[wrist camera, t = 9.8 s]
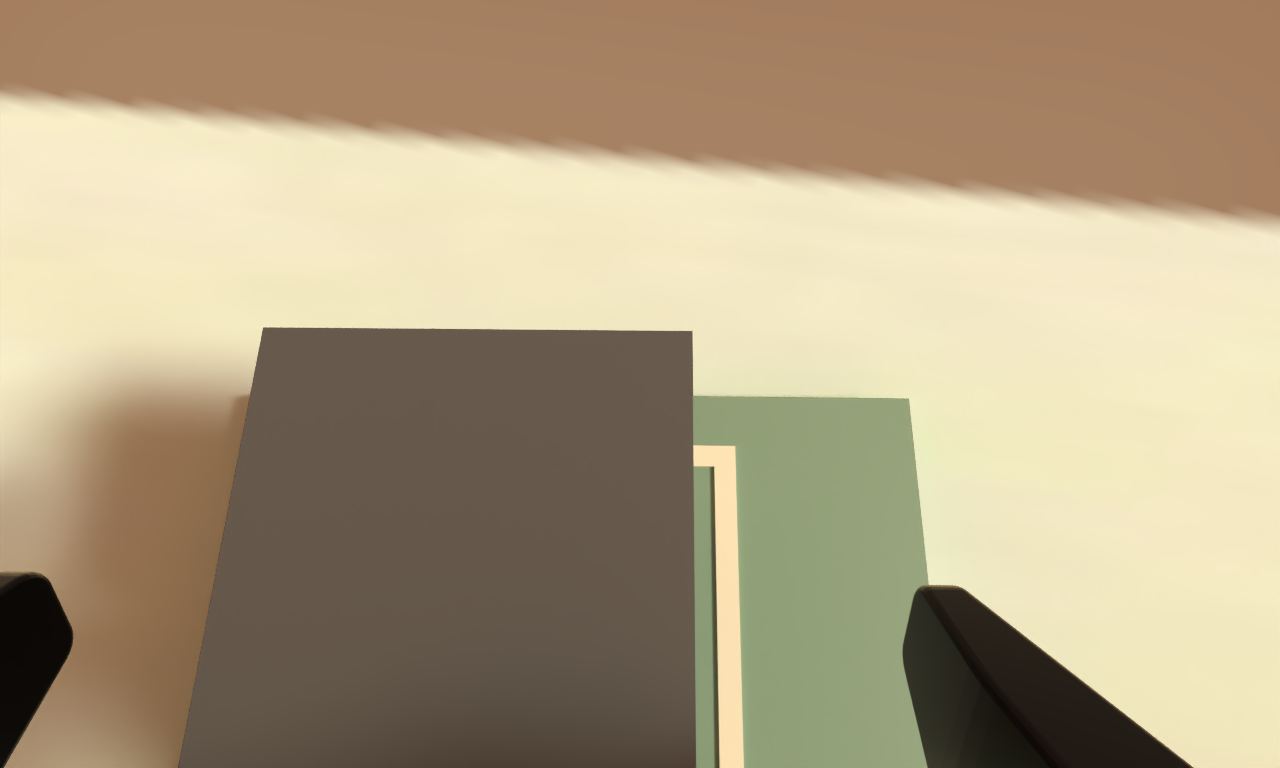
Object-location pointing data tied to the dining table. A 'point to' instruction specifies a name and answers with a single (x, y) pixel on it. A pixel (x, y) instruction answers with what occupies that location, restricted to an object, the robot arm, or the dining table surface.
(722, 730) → the board
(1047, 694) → the robot arm
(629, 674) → the plug block
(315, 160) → the dining table surface
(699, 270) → the dining table surface
